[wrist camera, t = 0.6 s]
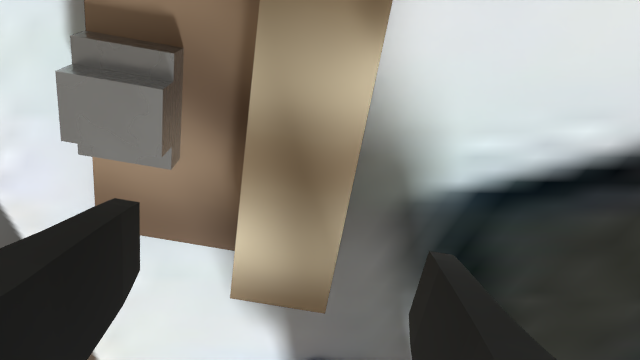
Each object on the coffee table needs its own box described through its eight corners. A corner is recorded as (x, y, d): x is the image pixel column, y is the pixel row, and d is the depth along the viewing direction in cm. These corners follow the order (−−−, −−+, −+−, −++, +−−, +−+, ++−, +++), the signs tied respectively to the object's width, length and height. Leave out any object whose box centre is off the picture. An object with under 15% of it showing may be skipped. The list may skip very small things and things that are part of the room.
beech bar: (328, 257, 24) (325, 313, 20) (248, 244, 23) (230, 298, 20) (386, -26, 18) (396, -19, 14) (280, -45, 18) (264, -43, 14)
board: (317, 257, 24) (316, 264, 24) (101, 221, 24) (96, 227, 23) (375, -43, 18) (376, -42, 18) (87, -95, 18) (78, -97, 17)
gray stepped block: (180, 158, 22) (161, 182, 19) (92, 144, 22) (63, 165, 19) (183, 47, 19) (163, 59, 17) (85, 30, 19) (52, 40, 17)
